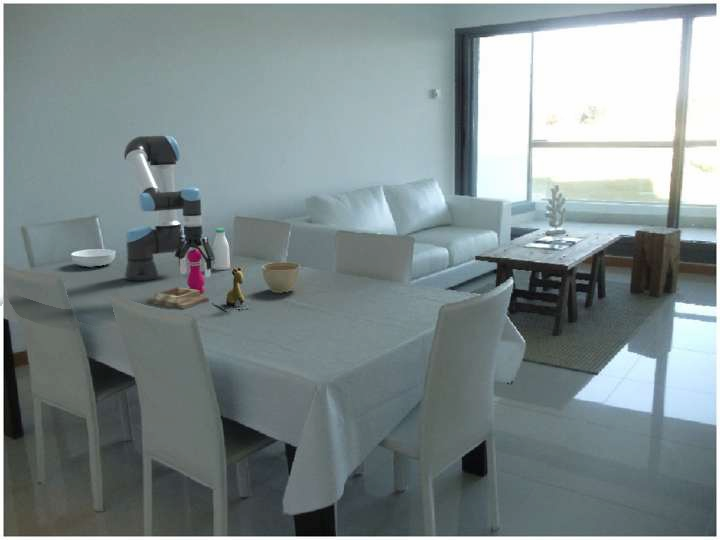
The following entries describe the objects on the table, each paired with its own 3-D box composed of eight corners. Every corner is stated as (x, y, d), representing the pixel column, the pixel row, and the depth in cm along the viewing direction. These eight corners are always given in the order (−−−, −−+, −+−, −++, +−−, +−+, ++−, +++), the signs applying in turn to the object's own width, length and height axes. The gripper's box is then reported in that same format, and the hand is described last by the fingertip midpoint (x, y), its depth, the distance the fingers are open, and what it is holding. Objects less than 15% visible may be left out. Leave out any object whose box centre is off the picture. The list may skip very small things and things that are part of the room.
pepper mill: (200, 294, 284) (198, 248, 280) (184, 294, 286) (182, 247, 281) (208, 290, 291) (205, 244, 287) (192, 290, 293) (189, 244, 288)
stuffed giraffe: (227, 313, 258) (226, 271, 255) (209, 304, 272) (208, 265, 270) (265, 308, 266) (265, 268, 264) (246, 299, 281) (246, 262, 279)
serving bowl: (107, 270, 333) (106, 256, 331) (65, 270, 333) (63, 256, 332) (122, 261, 353) (121, 248, 352) (82, 261, 353) (81, 248, 352)
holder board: (147, 302, 273) (146, 292, 272) (172, 294, 284) (171, 285, 284) (184, 308, 263) (183, 298, 262) (208, 300, 275) (208, 291, 274)
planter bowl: (255, 291, 291) (254, 266, 288) (283, 284, 302) (283, 260, 300) (279, 297, 280) (278, 271, 278) (308, 290, 291) (307, 265, 289)
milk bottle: (233, 268, 336) (231, 228, 332) (222, 271, 329) (220, 230, 325) (221, 266, 340) (219, 227, 336) (210, 269, 333) (208, 229, 329)
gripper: (164, 224, 285) (167, 273, 289) (209, 228, 273) (212, 279, 277) (177, 222, 291) (180, 270, 296) (221, 226, 279) (224, 276, 284)
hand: (195, 275), depth 287 cm, fingers open, 13 cm apart
